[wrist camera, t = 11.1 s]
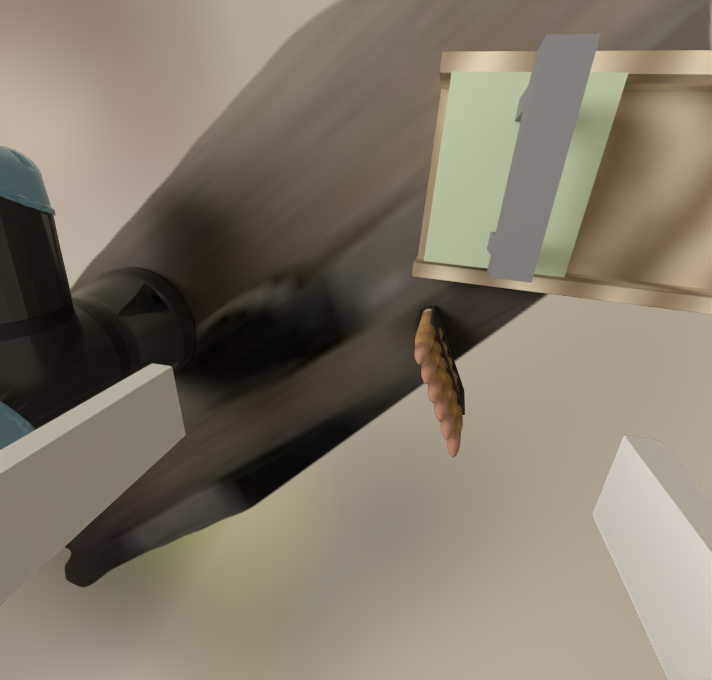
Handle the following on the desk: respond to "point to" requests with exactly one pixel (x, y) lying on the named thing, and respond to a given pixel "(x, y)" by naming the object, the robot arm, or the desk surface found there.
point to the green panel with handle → (521, 161)
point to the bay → (624, 186)
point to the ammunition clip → (440, 375)
